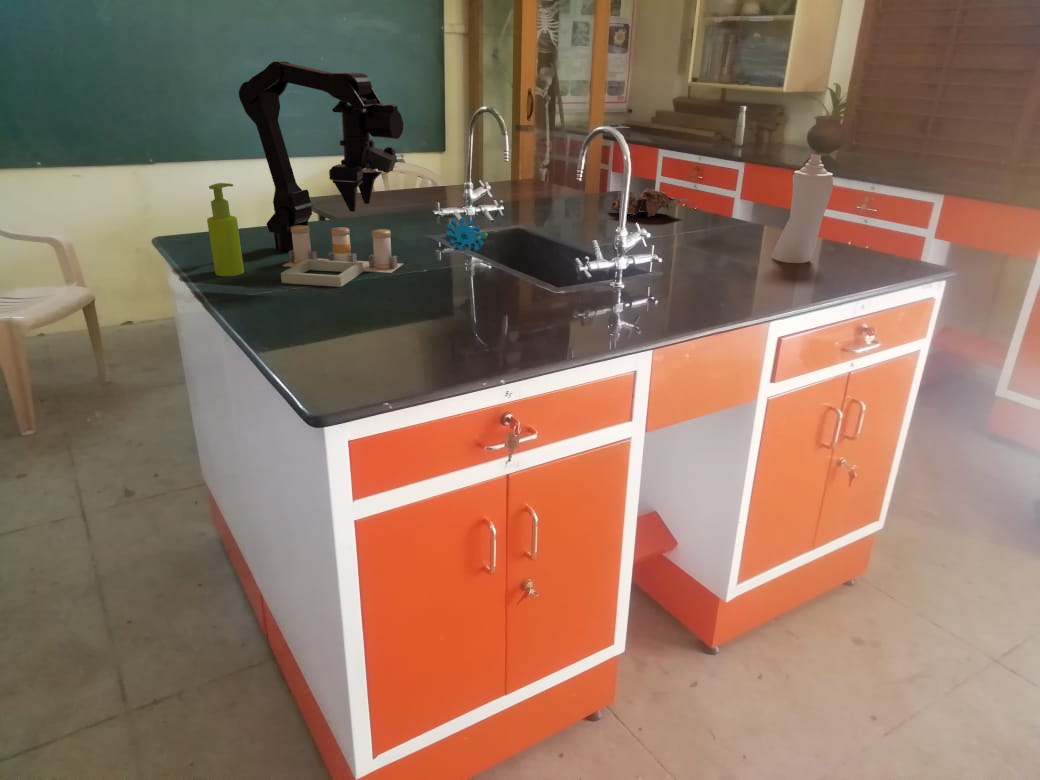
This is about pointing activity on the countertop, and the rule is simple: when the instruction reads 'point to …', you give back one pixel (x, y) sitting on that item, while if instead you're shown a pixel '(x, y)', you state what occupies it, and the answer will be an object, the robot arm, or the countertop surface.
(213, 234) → the soap dispenser
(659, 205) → the mineral formation
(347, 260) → the fuse marked
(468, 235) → the gear
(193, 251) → the countertop surface
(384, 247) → the fuse right
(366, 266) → the fuse holder
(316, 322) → the countertop surface
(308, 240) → the fuse left
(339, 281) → the tray
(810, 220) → the curved beige bottle
